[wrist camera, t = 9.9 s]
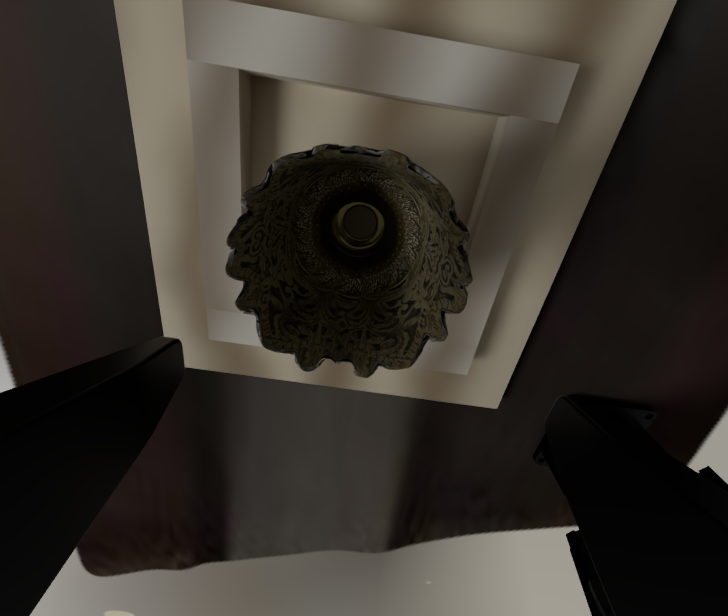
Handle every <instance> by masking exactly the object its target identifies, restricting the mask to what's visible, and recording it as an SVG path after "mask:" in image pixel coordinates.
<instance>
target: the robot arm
mask: <svg viewBox="0 0 728 616" xmlns="http://www.w3.org/2000/svg"><path fill="white" fill-rule="evenodd" d="M184 372H185V363H184V354H183V346H182V342H181V341H180V340H179V339H177V338H171V337H164V336H162V337H157V338H155V339H152V340H149V341H146V342H143V343H140V344H138V345H135V346H132V347H129V348H126V349H123V350H121V351H118V352H115V353H112V354H109V355H106V356H104V357H101V358H98V359H95V360H92V361H89V362H87V363H84V364H81V365H78V366H75V367H72V368H70V369H67V370H64V371H61V372H58V373H55V374H53V375H50V376H47V377H44V378H41V379H38V380H36V381H33V382H30V383H27V384H24V385H21V386H19V387H16V388H13V389H10V390H7V391H4V392H2V393H0V616H29V615H30V614H31V613H32V611H33V609H34V608H35V606H36V605H37V604H38V602H39V601H40V599H41V598H42V596H43V595H44V593H45V592H46V590H47V589H48V588H49V586H50V585H51V583H52V582H53V580H54V579H55V577H56V576H57V574H58V573H59V571H60V570H61V568H62V567H63V565H64V564H65V562H66V561H67V560H68V558H69V557H70V555H71V554H72V552H73V551H74V549H75V548H76V546H77V545H78V543H79V542H80V540H81V539H82V538H83V536H84V535H85V533H86V532H87V530H88V529H89V527H90V526H91V524H92V523H93V521H94V520H95V518H96V517H97V516H98V514H99V513H100V511H101V510H102V508H103V507H104V505H105V504H106V502H107V501H108V499H109V498H110V496H111V495H112V493H113V492H114V491H115V489H116V488H117V486H118V485H119V483H120V482H121V480H122V479H123V477H124V476H125V474H126V473H127V471H128V470H129V468H130V467H131V466H132V464H133V463H134V461H135V460H136V458H137V457H138V455H139V454H140V452H141V451H142V449H143V448H144V446H145V445H146V443H147V442H148V440H149V439H150V437H151V435H152V434H153V432H154V430H155V429H156V427H157V425H158V423H159V421H160V419H161V418H162V416H163V414H164V412H165V410H166V408H167V406H168V404H169V403H170V401H171V399H172V397H173V395H174V393H175V391H176V390H177V388H178V386H179V384H180V382H181V380H182V378H183V376H184ZM656 417H657V413H656V412H655V411H654V410H653V409H652V408H650V407H643V406H636V405H629V404H621V403H614V402H607V401H599V400H592V399H585V398H579V397H574V396H567V395H561V396H559V397H558V398H557V399H556V401H555V403H554V405H553V406H552V408H551V410H550V412H549V414H548V416H547V417H546V420H545V431H546V433H545V435H544V436H543V438H542V440H541V442H540V444H539V445H538V447H537V449H536V451H535V453H534V455H533V459H534V461H535V463H536V464H538V465H544V466H549V467H550V469H551V471H552V473H553V475H554V477H555V479H556V480H557V482H558V484H559V486H560V488H561V490H562V492H563V493H564V495H565V497H566V498H567V500H568V503H569V505H570V508H571V510H572V513H573V515H574V518H575V520H576V523H577V525H578V527H579V530H578V531H571V532H569V533H567V534H566V537H567V539H568V542H569V546H570V552H571V555H572V557H573V561H574V563H575V567H576V570H577V573H578V575H579V579H580V582H581V585H582V587H583V591H584V594H585V596H586V599H587V602H588V605H589V608H590V611H591V614H592V616H728V484H727V483H726V482H725V481H723V480H722V479H721V478H720V477H719V476H718V475H717V474H716V473H715V472H714V471H713V470H712V469H711V468H710V467H709V466H707V467H706V468H703V469H701V470H699V472H700V473H697V472H695V471H694V470H692V469H691V468H689V467H687V466H686V465H684V464H683V463H681V462H680V461H678V460H676V459H675V458H673V457H672V456H670V455H669V454H668V453H667V452H666V451H665V450H664V449H663V448H662V447H661V446H660V445H659V444H658V443H657V442H656V441H655V440H654V439H653V437H652V436H651V435H650V434H649V433H648V432H647V429H648V428H649V427H650V425H651V424H652V423H653V421H654V420H655V419H656Z"/></svg>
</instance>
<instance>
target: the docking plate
mask: <svg viewBox="0 0 728 616" xmlns="http://www.w3.org/2000/svg"><path fill="white" fill-rule="evenodd" d="M676 1H677V0H114V6H115V12H116V19H117V26H118V32H119V39H120V46H121V52H122V59H123V66H124V72H125V79H126V86H127V92H128V99H129V105H130V112H131V119H132V125H133V132H134V139H135V145H136V152H137V159H138V165H139V172H140V179H141V185H142V192H143V199H144V205H145V212H146V219H147V225H148V232H149V239H150V245H151V252H152V259H153V265H154V272H155V279H156V285H157V292H158V299H159V305H160V312H161V319H162V325H163V332H164V337H171V338H177V339H179V340H180V341H181V342H182V346H183V354H184V363H185V367H189V368H196V369H204V370H211V371H219V372H226V373H234V374H241V375H248V376H256V377H263V378H271V379H278V380H286V381H293V382H301V383H308V384H316V385H323V386H330V387H338V388H345V389H353V390H360V391H368V392H375V393H383V394H390V395H398V396H405V397H412V398H420V399H427V400H435V401H442V402H450V403H457V404H465V405H472V406H480V407H487V408H494V409H497V408H498V405H499V403H500V401H501V398H502V396H503V394H504V392H505V389H506V387H507V385H508V383H509V380H510V378H511V376H512V373H513V371H514V369H515V367H516V364H517V362H518V360H519V358H520V355H521V353H522V351H523V349H524V346H525V344H526V342H527V339H528V337H529V335H530V333H531V330H532V328H533V326H534V324H535V321H536V319H537V317H538V315H539V312H540V310H541V308H542V305H543V303H544V301H545V299H546V296H547V294H548V292H549V290H550V287H551V285H552V283H553V280H554V278H555V276H556V274H557V271H558V269H559V267H560V265H561V262H562V260H563V258H564V256H565V253H566V251H567V249H568V246H569V244H570V242H571V240H572V237H573V235H574V233H575V231H576V228H577V226H578V224H579V221H580V219H581V217H582V215H583V212H584V210H585V208H586V206H587V203H588V201H589V199H590V197H591V194H592V192H593V190H594V187H595V185H596V183H597V181H598V178H599V176H600V174H601V172H602V169H603V167H604V165H605V163H606V160H607V158H608V156H609V153H610V151H611V149H612V147H613V144H614V142H615V140H616V138H617V135H618V133H619V131H620V128H621V126H622V124H623V122H624V119H625V117H626V115H627V113H628V110H629V108H630V106H631V104H632V101H633V99H634V97H635V94H636V92H637V90H638V88H639V85H640V83H641V81H642V79H643V76H644V74H645V72H646V69H647V67H648V65H649V63H650V60H651V58H652V56H653V54H654V51H655V49H656V47H657V45H658V42H659V40H660V38H661V35H662V33H663V31H664V29H665V26H666V24H667V22H668V20H669V17H670V15H671V13H672V11H673V8H674V6H675V4H676ZM321 144H339V145H340V146H354V145H357V146H362V147H366V148H372V149H376V150H384V149H385V148H386V149H391V150H394V151H397V152H400V153H402V154H404V155H406V156H407V157H409V158H410V160H411V161H412V162H413V163H415V164H417V165H419V166H421V167H422V168H424V169H425V170H426V171H428V172H429V173H430V174H432V175H433V176H434V177H436V178H437V179H438V180H439V181H440V182H441V183H443V184H444V186H445V187H446V188H447V190H448V191H449V193H450V194H451V196H452V198H453V200H454V202H455V210H456V213H457V216H458V217H459V219H460V220H461V221H462V222H463V223H464V225H465V226H466V227H467V229H468V231H469V233H470V238H469V239H468V243H465V244H463V247H464V249H465V250H466V251H467V253H468V262H469V265H470V269H471V273H472V278H473V281H472V282H471V283H470V284H468V287H465V288H466V290H467V292H468V298H467V304H466V306H465V308H464V310H463V311H462V312H461V313H460V314H448V313H445V316H446V325H447V331H448V336H447V338H446V340H445V341H441V342H431V341H434V339H431V337H430V338H429V339H430V340H428V342H427V343H426V345H425V346H424V348H423V351H422V353H421V354H420V356H419V357H418V359H417V360H416V362H415V363H414V364H413V365H412V366H411V367H410V368H407V369H400V370H388V369H385V368H383V367H380V366H378V368H377V370H376V371H375V372H374V374H373V375H372V376H370V377H368V378H362V377H359V376H355V374H354V373H353V371H354V367H353V365H352V363H350V362H342V363H340V364H336V363H335V362H333V361H332V360H331V359H326V360H324V362H322V365H320V366H318V365H317V366H318V368H316V369H315V370H314V371H310V372H305V371H303V370H302V369H300V368H299V367H298V365H297V364H296V363H295V355H292V354H283V353H276V352H273V351H270V350H268V349H266V348H264V347H263V346H262V344H261V342H260V339H259V337H258V334H257V330H256V317H255V315H254V312H251V313H247V312H245V311H240V310H239V309H238V308H237V307H236V306H235V301H236V299H237V297H238V295H239V294H240V292H241V290H242V288H243V285H244V282H243V280H242V281H237V280H235V279H233V278H230V277H229V276H228V275H227V274H226V272H225V266H226V263H227V260H228V256H229V253H231V252H232V251H233V249H230V248H231V247H228V246H227V243H226V240H227V237H228V235H229V233H230V231H231V230H232V229H233V227H234V226H235V225H236V223H237V219H238V218H239V217H240V216H241V215H242V214H244V213H246V212H247V211H248V208H246V207H245V209H244V207H243V206H242V205H241V197H242V195H243V193H245V192H246V191H248V190H249V189H250V188H252V187H254V186H257V185H260V184H261V183H262V181H263V180H264V179H265V177H266V173H267V170H268V168H269V166H270V165H271V164H272V163H273V162H274V161H275V160H277V159H279V158H280V157H282V156H284V155H287V154H290V153H297V152H302V151H307V150H311V149H312V148H313V147H314V146H317V145H321ZM344 224H345V228H346V230H347V232H348V233H349V234H350V235H351V236H353V237H355V238H358V239H363V238H366V237H368V236H370V235H371V234H372V233H373V232H374V230H375V227H376V218H375V216H374V214H373V212H372V211H371V210H369V209H368V208H366V207H361V206H359V207H354V208H352V209H351V210H350V211H349V212H348V213H347V214H346V216H345V220H344ZM250 310H251V309H250ZM251 311H253V310H251ZM323 359H325V358H323ZM323 359H322V360H323ZM319 363H320V362H319ZM319 363H318V364H319Z"/></svg>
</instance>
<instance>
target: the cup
mask: <svg viewBox="0 0 728 616" xmlns="http://www.w3.org/2000/svg"><path fill="white" fill-rule="evenodd" d="M241 205H242V206H243V207H244V209H245V207H246V208H248V211H247V212H246V213H244V214H242V215H241V216H240V217H239V218H238V219H237V223H236V225H235V226H234V227H233V229H232V230H231V231H230V233H229V235H228V237H227V240H226V243H227V246H228V247H231V248H230V249H233V251H232V252H231V253H229V256H228V260H227V263H226V266H225V272H226V274H227V275H228V276H229V277H230V278H233V279H235V280H237V281H242V280H243V282H244V285H243V288H242V290H241V292H240V294H239V295H238V297H237V299H236V301H235V306H236V307H237V308H238V309H239V310H240V311H245V312H247V313H251V312H254V315H255V317H256V330H257V334H258V337H259V339H260V342H261V344H262V346H263V347H264V348H266V349H268V350H270V351H273V352H276V353H283V354H292V355H295V363H296V364H297V365H298V367H299V368H300V369H302V370H303V371H305V372H310V371H314V370H315V369H316V368H318V366H320V365H322V362H324V360H326V359H331V360H332V361H333V362H335V363H336V364H340V363H342V362H350V363H352V365H353V367H354V371H353V373H354V374H355V376H359V377H362V378H368V377H370V376H372V375H373V374H374V372H375V371H376V370H377V368H378V366H380V367H383V368H385V369H388V370H400V369H407V368H410V367H411V366H412V365H413V364H414V363H415V362H416V360H417V359H418V357H419V356H420V354H421V353H422V351H423V348H424V346H425V345H426V343H427V342H428V340H430V339H429V338H430V337H431V339H434V341H431V342H441V341H445V340H446V338H447V336H448V331H447V325H446V316H445V313H448V314H460V313H461V312H462V311H463V310H464V308H465V306H466V304H467V298H468V292H467V290H466V288H465V287H468V284H470V283H471V282H472V281H473V278H472V273H471V269H470V265H469V262H468V253H467V251H466V250H465V249H464V247H463V244H465V243H468V239H469V238H470V233H469V231H468V229H467V227H466V226H465V225H464V223H463V222H462V221H461V220H460V219H459V217H458V216H457V213H456V210H455V202H454V200H453V198H452V196H451V194H450V193H449V191H448V190H447V188H446V187H445V186H444V184H443V183H441V182H440V181H439V180H438V179H437V178H436V177H434V176H433V175H432V174H430V173H429V172H428V171H426V170H425V169H424V168H422V167H421V166H419V165H417V164H415V163H413V162H412V161H411V160H410V158H409V157H407V156H406V155H404V154H402V153H400V152H397V151H394V150H391V149H386V148H385V149H384V150H376V149H372V148H366V147H362V146H357V145H354V146H340V145H339V144H321V145H317V146H314V147H313V148H312V149H311V150H307V151H302V152H297V153H290V154H287V155H284V156H282V157H280V158H279V159H277V160H275V161H274V162H273V163H272V164H271V165H270V166H269V168H268V170H267V173H266V177H265V179H264V180H263V181H262V183H261V184H260V185H257V186H254V187H252V188H250V189H249V190H248V191H246V192H245V193H243V195H242V197H241ZM359 206H361V207H366V208H368V209H369V210H371V211H372V212H373V214H374V216H375V218H376V227H375V230H374V232H373V233H372V234H371V235H370V236H368V237H366V238H363V239H358V238H355V237H353V236H351V235H350V234H349V233H348V232H347V230H346V228H345V224H344V220H345V216H346V214H347V213H348V212H349V211H350V210H351V209H352V208H354V207H359ZM250 309H251V310H253V311H251V310H250ZM323 358H325V359H323ZM322 359H323V360H322ZM319 362H320V363H319ZM318 363H319V364H318ZM317 365H318V366H317Z"/></svg>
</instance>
